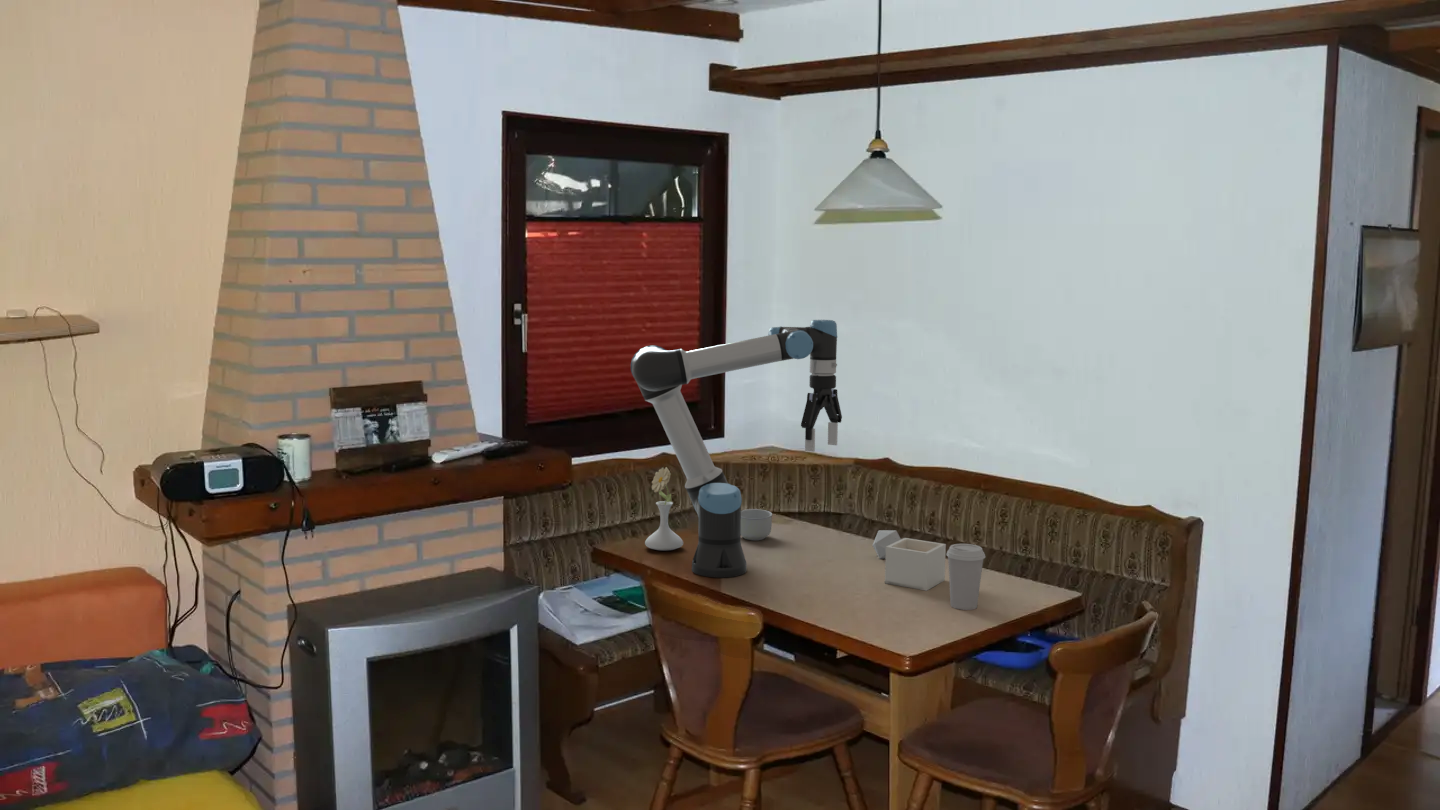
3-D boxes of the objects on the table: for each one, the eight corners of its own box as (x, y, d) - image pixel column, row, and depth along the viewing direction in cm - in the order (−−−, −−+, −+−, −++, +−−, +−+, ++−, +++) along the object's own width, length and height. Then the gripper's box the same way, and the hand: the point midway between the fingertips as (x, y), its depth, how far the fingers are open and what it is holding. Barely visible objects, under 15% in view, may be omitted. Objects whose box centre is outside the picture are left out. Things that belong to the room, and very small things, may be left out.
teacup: (778, 537, 362) (778, 511, 361) (760, 544, 353) (760, 518, 352) (739, 531, 370) (739, 506, 368) (721, 537, 360) (721, 512, 359)
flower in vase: (642, 544, 351) (643, 462, 348) (680, 543, 353) (681, 461, 350) (647, 555, 339) (648, 470, 335) (686, 554, 341) (687, 469, 337)
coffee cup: (936, 603, 295) (938, 545, 293) (965, 598, 300) (967, 541, 298) (962, 614, 287) (964, 554, 285) (991, 608, 292) (993, 549, 290)
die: (901, 556, 343) (883, 528, 345) (913, 548, 336) (895, 519, 338) (880, 569, 340) (862, 540, 342) (892, 561, 332) (873, 532, 334)
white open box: (926, 590, 306) (927, 553, 305) (884, 583, 313) (885, 546, 311) (944, 580, 316) (945, 544, 315) (903, 573, 323) (904, 537, 321)
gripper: (813, 378, 321) (811, 455, 324) (854, 371, 342) (852, 443, 344) (789, 377, 325) (788, 452, 328) (831, 369, 346) (830, 440, 348)
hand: (821, 448), depth 336 cm, fingers open, 13 cm apart
